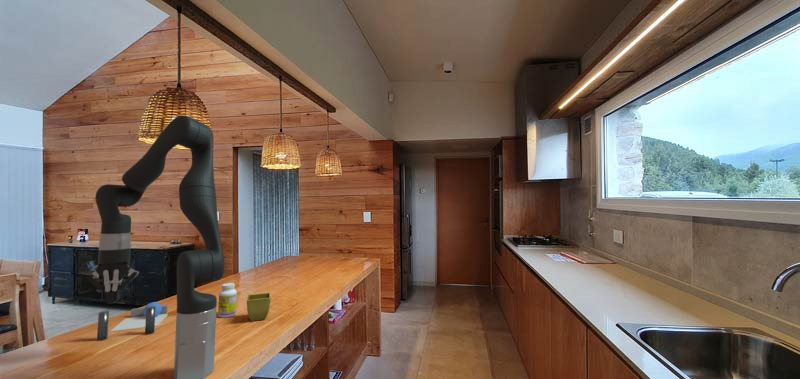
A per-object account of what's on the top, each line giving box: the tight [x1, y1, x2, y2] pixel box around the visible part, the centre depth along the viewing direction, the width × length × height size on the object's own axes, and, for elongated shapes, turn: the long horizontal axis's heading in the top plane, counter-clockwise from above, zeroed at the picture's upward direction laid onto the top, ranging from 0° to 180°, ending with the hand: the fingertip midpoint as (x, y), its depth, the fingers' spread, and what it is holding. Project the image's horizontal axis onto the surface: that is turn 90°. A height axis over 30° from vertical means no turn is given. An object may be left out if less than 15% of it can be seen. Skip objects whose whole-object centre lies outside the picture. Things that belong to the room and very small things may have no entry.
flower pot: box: [246, 292, 272, 322], centre depth 126 cm, size 9×9×9 cm
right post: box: [144, 306, 156, 336], centre depth 111 cm, size 3×3×9 cm
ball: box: [143, 301, 163, 317], centre depth 127 cm, size 6×6×6 cm
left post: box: [96, 310, 110, 342], centre depth 106 cm, size 3×3×9 cm
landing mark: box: [109, 313, 169, 333], centre depth 121 cm, size 14×14×1 cm
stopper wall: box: [130, 305, 169, 318], centre depth 130 cm, size 2×12×3 cm, turn 113°
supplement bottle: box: [217, 282, 238, 318], centre depth 130 cm, size 7×7×13 cm
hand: (112, 302), depth 97 cm, fingers closed
